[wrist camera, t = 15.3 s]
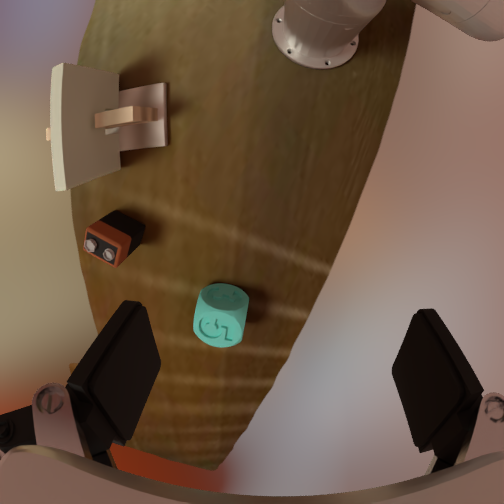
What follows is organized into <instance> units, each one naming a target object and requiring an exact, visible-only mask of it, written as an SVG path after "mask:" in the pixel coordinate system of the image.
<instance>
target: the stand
mask: <svg viewBox="0 0 504 504" xmlns="http://www.w3.org/2000/svg"><path fill="white" fill-rule="evenodd" d="M95 128H105V135H107V134H115V133H119V149H120V151H125V150H133V149H141V148H150V147H160V146H168V140H167V105H166V83H158V84H152V85H147V86H142V87H137V88H132V89H127V90H123V91H119V106H118V109H114V110H110V111H105V112H101V113H97V114H95ZM46 136H47V137H46V138H47V141H50V140H51V128H50V127H49V128H46Z"/></svg>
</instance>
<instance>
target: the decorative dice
mask: <svg viewBox="0 0 504 504" xmlns="http://www.w3.org/2000/svg"><path fill="white" fill-rule="evenodd" d="M248 303H249V297H248V295H247V294H246V293H245V292H244V291H243V290H241V289H240V288H238V287H236V286H233V285H230V284H224V283H217V284H211V285H209V286H207V287H205V288H203V289H202V290H201V292H200V295H199V298H198V301H197V305H196V310H195V316H194V325H193V328H194V332H195V334H196V335H197V336H198V337H199V338H200V339H201V340H202V341H204V342H205V343H207V344H209V345H211V346H215V347H230V346H233V345H236V344H238V343H239V342H241V340H242V336H243V331H244V326H245V321H246V315H247V309H248Z"/></svg>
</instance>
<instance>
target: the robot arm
mask: <svg viewBox="0 0 504 504" xmlns="http://www.w3.org/2000/svg"><path fill="white" fill-rule="evenodd" d="M410 1H412V2H414V3H416V4H418V5H420V6H422V7H423V8H425V9H427V10H429V11H430V12H432V13H434V14H435V15H437V16H439V17H440V18H442V19H443V20H445V21H447V22H449V23H450V24H451V25H453V26H455V27H456V28H458V29H459V30H461V31H463V32H464V33H466V34H468V35H469V36H471V37H474V38H476V39H479V40H483V41H497V40H500V39H503V38H504V0H410ZM385 3H386V0H285V5H284V6H283V7H281V8H280V9H279V10H278V12H277V13H276V15H275V17H274V19H273V23H272V34H273V39H274V41H275V43H276V45H277V47H278V48H279V50H280V51H281V52H282V53H283V54H284V55H285V56H286V57H287V58H289V59H290V60H291V61H293V62H295V63H297V64H299V65H301V66H304V67H307V68H312V69H330V68H335V67H337V66H340V65H342V64H344V63H345V62H347V61H348V60H349V59H350V58H351V57H352V56H353V54H354V53H355V51H356V49H357V47H358V42H359V36H358V34H359V33H360V31H361V30H362V29H363V28H364V27H365V26H366V25H367V24H368V23H369V22H370V21H371V20H372V19H373V18H374V17H375V16H376V15H377V14H378V13H379V12H380V11H381V10H382V8H383V7H384V5H385ZM278 21H279V22H280V23H277V22H278ZM351 44H353V46H352V45H351ZM288 52H291V54H288ZM325 63H328V65H325ZM160 366H161V360H160V356H159V353H158V350H157V346H156V343H155V339H154V336H153V332H152V329H151V325H150V321H149V317H148V313H147V310H146V308H145V307H144V306H142V304H141V303H140V302H137V301H128V300H125V301H123V302H122V304H121V305H120V306H119V308H118V309H117V310H116V312H115V313H114V314H113V316H112V317H111V318H110V320H109V321H108V322H107V324H106V325H105V327H104V328H103V329H102V331H101V332H100V334H99V335H98V336H97V338H96V339H95V341H94V342H93V343H92V345H91V346H90V348H89V349H88V351H87V352H86V354H85V355H84V357H83V358H82V359H81V361H80V363H79V364H78V365H77V367H76V368H75V370H74V371H73V373H72V374H71V376H70V377H69V379H68V381H67V383H68V384H67V385H66V387H64V386H63V385H61V384H59V383H48V384H46V385H43V386H42V387H40V388H39V389H38V390H37V391H36V393H35V394H34V397H33V400H32V405H30V406H27V407H24V408H21V409H18V410H15V411H12V412H9V413H5V414H2V415H0V504H504V396H502V395H501V394H499V393H489V394H487V395H485V396H484V397H482V395H481V394H482V392H483V391H484V389H483V387H482V386H481V384H480V382H479V380H478V378H477V377H476V375H475V373H474V371H473V369H472V368H471V366H470V364H469V362H468V361H467V359H466V357H465V356H464V354H463V352H462V351H461V349H460V347H459V346H458V344H457V343H456V341H455V339H454V338H453V336H452V335H451V333H450V332H449V330H448V328H447V327H446V325H445V324H444V322H443V321H442V320H441V318H440V317H439V315H438V314H437V312H436V311H435V310H434V309H420V310H418V311H417V313H416V314H414V315H413V317H412V320H411V322H410V325H409V328H408V330H407V333H406V336H405V338H404V340H403V343H402V345H401V348H400V350H399V353H398V355H397V357H396V359H395V362H394V364H393V367H392V375H393V378H394V381H395V384H396V387H397V390H398V393H399V396H400V399H401V402H402V405H403V408H404V411H405V414H406V418H407V421H408V425H409V428H410V431H411V435H412V438H413V442H414V444H415V446H416V447H418V448H419V452H420V453H422V452H426V451H429V450H432V449H433V450H434V457H433V459H432V461H431V463H430V465H429V467H428V469H427V471H426V473H425V475H424V476H421V477H417V478H414V479H410V480H407V481H403V482H399V483H395V484H391V485H386V486H381V487H376V488H372V489H366V490H359V491H352V492H345V493H337V494H327V495H314V496H291V497H290V496H288V497H286V496H283V497H281V496H276V497H275V496H274V497H273V496H250V495H237V494H227V493H219V492H211V491H204V490H198V489H192V488H187V487H181V486H177V485H172V484H168V483H164V482H159V481H156V480H152V479H148V478H145V477H141V476H137V475H134V474H131V473H127V472H124V471H121V470H118V469H117V466H116V464H115V461H114V459H113V457H112V454H111V452H110V446H111V444H112V443H115V444H118V445H122V446H125V443H126V441H127V440H130V439H131V438H132V436H133V433H134V431H135V428H136V426H137V423H138V421H139V418H140V416H141V413H142V411H143V408H144V406H145V403H146V401H147V399H148V396H149V394H150V391H151V389H152V386H153V384H154V382H155V379H156V377H157V375H158V372H159V370H160Z"/></svg>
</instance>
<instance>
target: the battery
mask: <svg viewBox="0 0 504 504" xmlns="http://www.w3.org/2000/svg"><path fill="white" fill-rule="evenodd" d="M144 230H145V225H144V224H142V223H140V222H138V221H136V220H134V219H132V218H130V217H128V216H126V215H124V214H122V213H120V212H118V211H116V210H115V211H113V212H111V213H109V214H108V215H106V216H104V217H103V218H101V219H100V220H98V221H97V222H95V223H93V224H92V225H90V226H89V227H87V229H86V234H85V240H84V247H83V249H84V251H86V252H88V253H89V254H91V255H93V256H95V257H96V258H98V259H100V260H102V261H104V262H105V263H107V264H109V265H111V266H113V267H115V268H116V267H118V266H119V265H120V264H121V263H122V262H123V261H124V260H125V259H126V258H127V257H128V256H129V255H130V254H131V253H132V252H133V251H134V250H135V249H136V248H137V247H138V246H139V245H140V243H141V239H142V236H143V233H144Z"/></svg>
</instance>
